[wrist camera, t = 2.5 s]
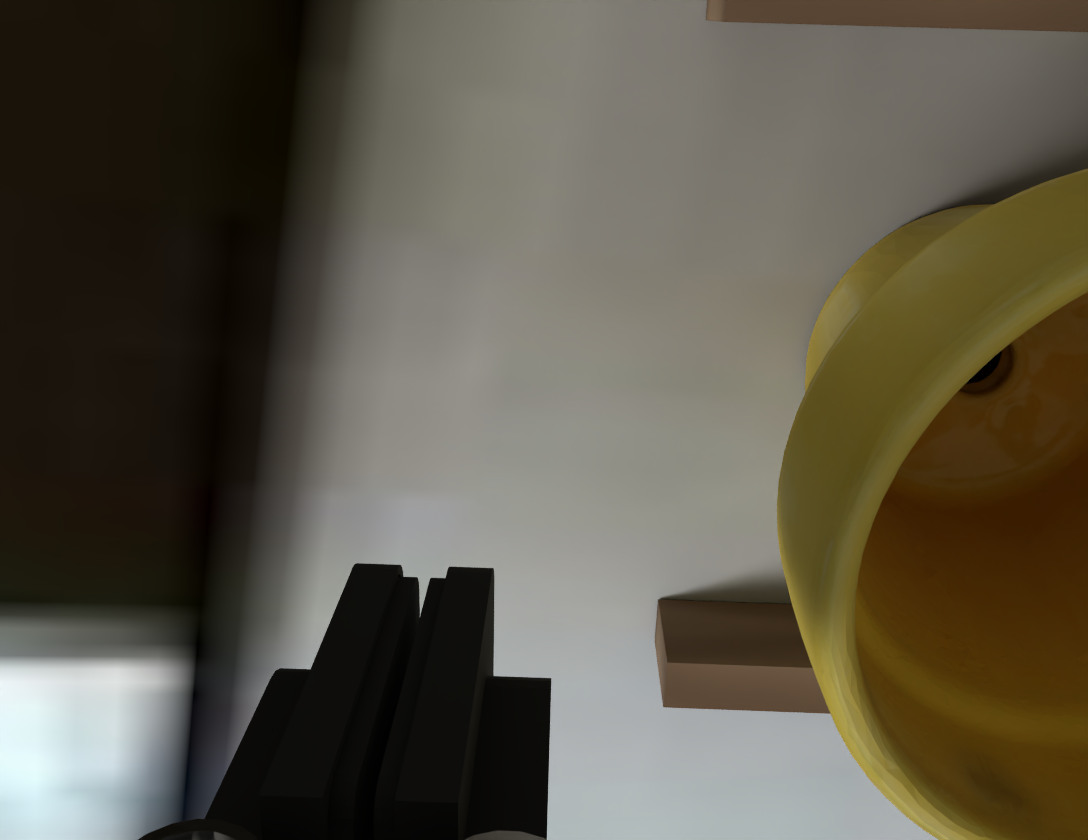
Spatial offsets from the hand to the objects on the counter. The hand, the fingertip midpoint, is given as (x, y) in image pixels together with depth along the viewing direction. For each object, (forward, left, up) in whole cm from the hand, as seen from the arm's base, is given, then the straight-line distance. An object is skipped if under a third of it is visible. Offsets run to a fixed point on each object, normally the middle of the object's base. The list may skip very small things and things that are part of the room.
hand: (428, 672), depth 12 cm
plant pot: (-1, +10, -11) cm, 15 cm away
